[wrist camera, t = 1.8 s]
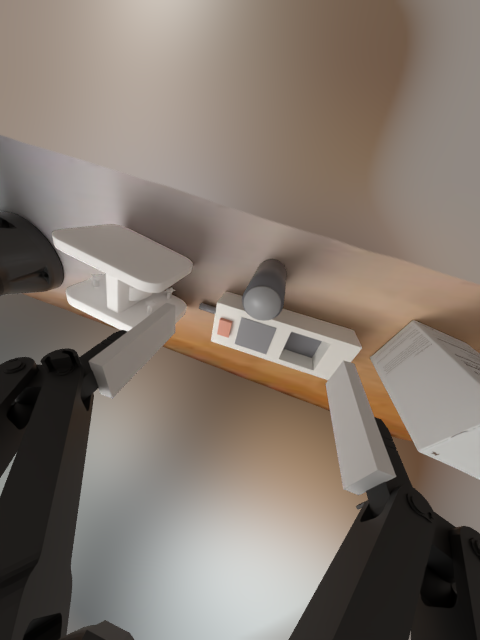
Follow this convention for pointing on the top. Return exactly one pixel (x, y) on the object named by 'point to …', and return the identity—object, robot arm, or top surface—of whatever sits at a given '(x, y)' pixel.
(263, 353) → the power strip
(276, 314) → the plug
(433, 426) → the supplement box
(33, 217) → the top surface
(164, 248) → the cable organizer
